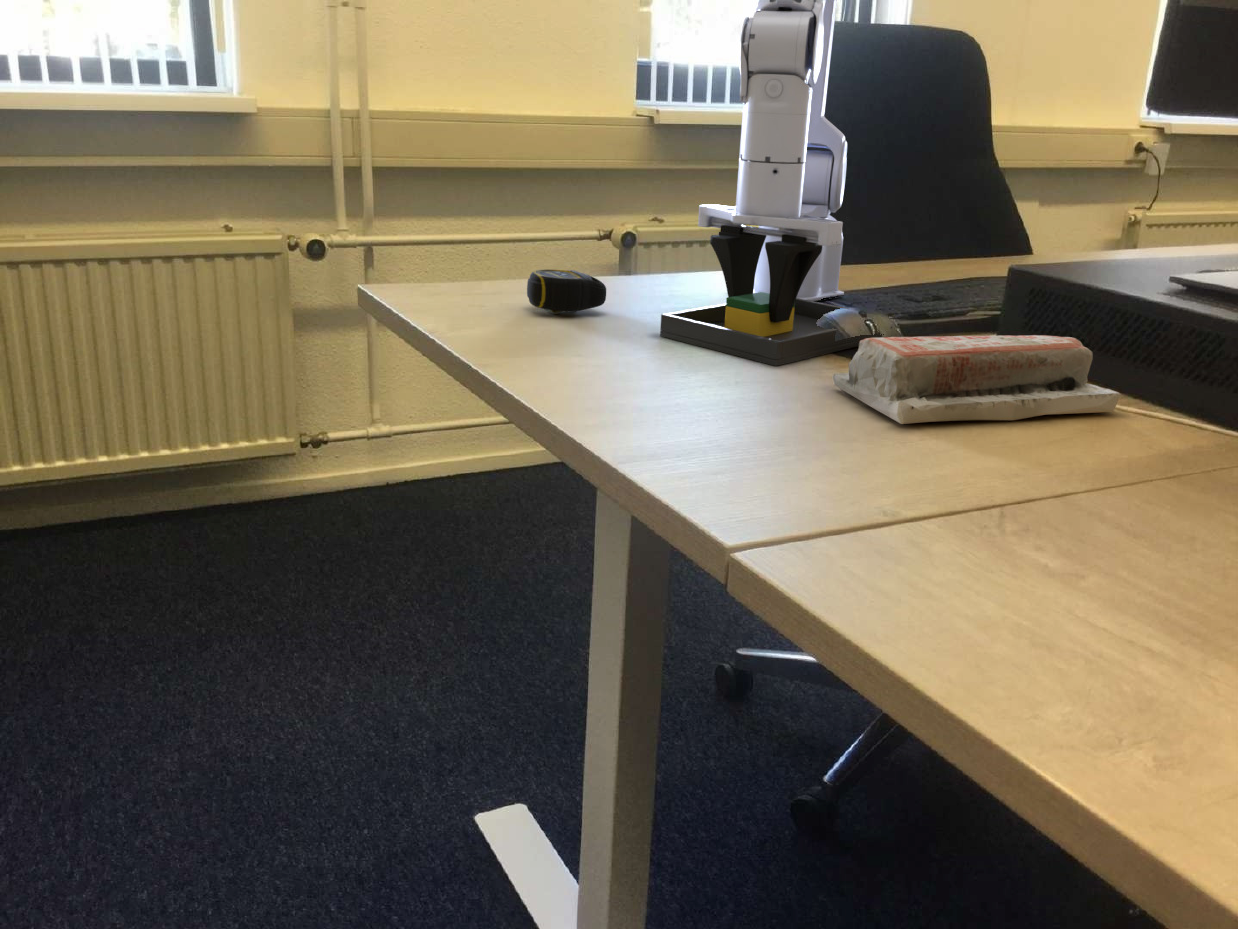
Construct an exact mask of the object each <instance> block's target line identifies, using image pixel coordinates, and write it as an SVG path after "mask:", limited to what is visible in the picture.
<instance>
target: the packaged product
mask: <svg viewBox="0 0 1238 929" xmlns="http://www.w3.org/2000/svg"><path fill="white" fill-rule="evenodd" d="M1093 358H1094V357H1093V351H1092V350H1090V349H1089V348H1088V347H1086V346H1084V345H1083V343H1082V342H1081V340H1079V339H1077V338H1076V337H1070V336H1058V335H1046V334H1045V335H1044V334H1043V335H1037V334H1032V335H1021V334H1020V335H1006V334H1005V335H1001V334H1000V335H970V334H969V335H954V336H953V335H951V336H950V335H944V336H943V335H942V336H891V337H881V338H866V339H864V340H860V343H859V346H858V349H857V351H856V352H855V354H854V355H853V357H852V359H851V361H850V362H849V363H848V372H846V373H842V372H841V373H839V372H837V373H833V374H832V377H831V378H832V381H833V384H834V386H835V387H836V388H838V389H840V390H842V391H844V392H845V393H847V394H849V395H850V396H852V397H854V398H855V399H857V400H859V401H860V402H862V403H864V404H865V405H867V406H869V407H870V408H872V409H874V410H876V411H877V412H879V413H881V414H883V415H884V416H886V417H888V418H890V419H892V420H893V421H895V422H897V423H899V424H900V425H904V424H905V425H906V424H917V423H930V422H931V423H932V422H933V423H934V422H935V423H936V422H960V421H1017V420H1022V419H1028V418H1033V417H1039V416H1044V415H1065V414H1067V415H1069V414H1090V413H1091V414H1092V413H1113V412H1115V410H1116V407H1117V405H1118V402H1119V400H1120V397H1121V395H1122V394H1121V393H1120V392H1118V391H1115V390H1112V389H1110V388H1105V387H1101V386H1099V385H1095V384H1091V383H1087V382H1088V380H1089V379H1088V376H1089V373H1090V370H1091V365H1092V363H1093Z"/></svg>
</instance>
